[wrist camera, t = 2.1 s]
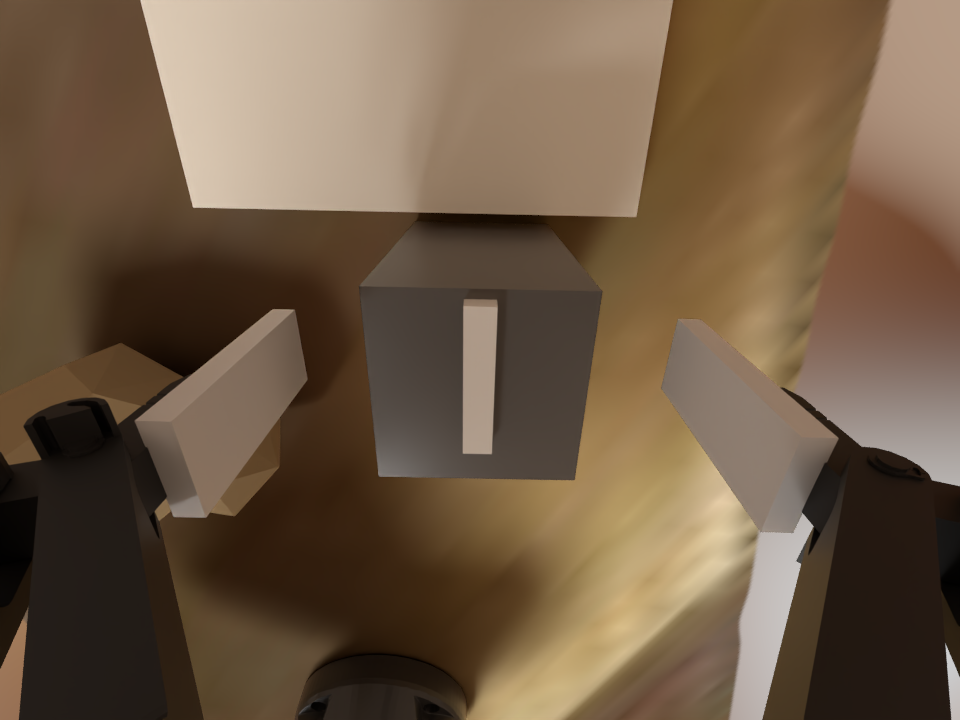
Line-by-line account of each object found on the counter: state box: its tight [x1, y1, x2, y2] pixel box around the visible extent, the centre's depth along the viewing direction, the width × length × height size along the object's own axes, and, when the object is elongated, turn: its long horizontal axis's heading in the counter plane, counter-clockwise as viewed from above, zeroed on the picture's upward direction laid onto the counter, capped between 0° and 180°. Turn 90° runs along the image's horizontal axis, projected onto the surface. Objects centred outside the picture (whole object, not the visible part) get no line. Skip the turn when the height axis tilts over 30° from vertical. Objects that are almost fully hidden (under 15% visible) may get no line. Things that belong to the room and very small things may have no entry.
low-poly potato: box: [0, 343, 281, 521], centre depth 22 cm, size 15×11×12 cm
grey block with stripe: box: [359, 221, 602, 480], centre depth 18 cm, size 7×7×12 cm
